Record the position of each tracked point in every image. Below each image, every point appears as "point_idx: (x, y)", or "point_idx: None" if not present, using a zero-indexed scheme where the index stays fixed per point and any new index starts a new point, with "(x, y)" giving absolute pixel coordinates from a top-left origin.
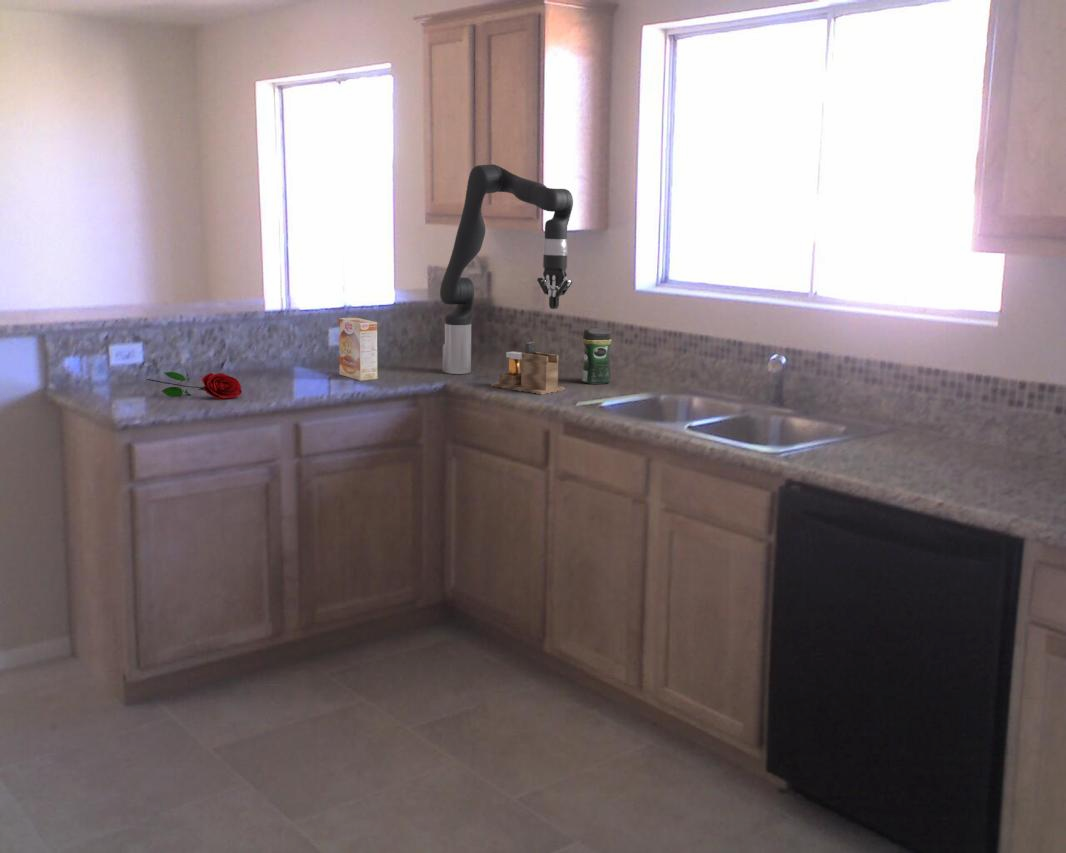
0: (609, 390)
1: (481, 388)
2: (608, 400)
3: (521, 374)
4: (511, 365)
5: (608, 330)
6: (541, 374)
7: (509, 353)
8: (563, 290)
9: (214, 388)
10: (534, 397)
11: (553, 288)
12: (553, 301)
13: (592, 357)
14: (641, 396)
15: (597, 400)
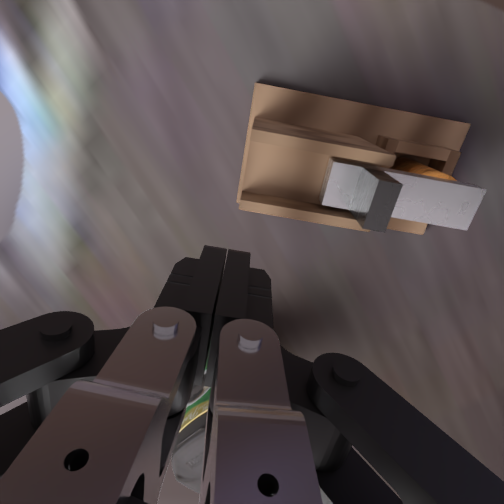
0: (145, 269)
1: (483, 60)
2: (48, 132)
3: (367, 141)
4: (431, 169)
5: (179, 476)
6: (275, 125)
7: (467, 185)
8: (9, 446)
9: None
10: (247, 18)
11: (115, 396)
12: (193, 278)
13: None
14: (34, 242)
15: (69, 110)
